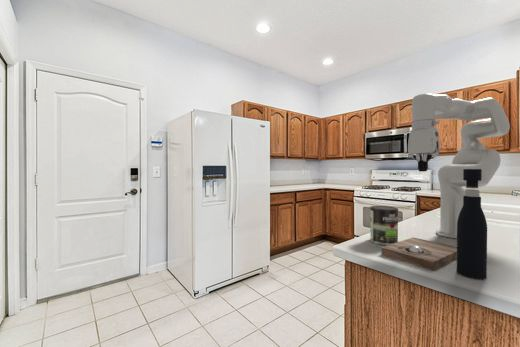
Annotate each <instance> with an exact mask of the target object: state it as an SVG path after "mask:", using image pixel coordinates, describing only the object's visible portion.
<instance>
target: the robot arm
mask: <svg viewBox="0 0 520 347" xmlns="http://www.w3.org/2000/svg"><path fill="white" fill-rule="evenodd" d="M410 110H411V130H410V131H409V134H408V141H407V142H408V143H407V152H408V158H413V159H414V160H416V162H417V169H418V172H422V173H423V172H427V171H428V169H429V161H430V160H431V159H432V158H435V157H438V156H440V153H439V152H441V150H440V149H441V148H440V147H441V144H440V143H441V142H440V136H439V130H438V128H437V127H436V126H437V125H439V123H440V122H439V120H458V121H463V122H464V121H466V123H465V124H463V125H462V126H461V127H460V128H461V129H460V138H461V143H462V145H461V147H460V149H459V150H458V152H456V154H455V155H454V156H453V159H452V162H451V164H446V165H443V166H441V167H440V168H439V169H438V171H437V177H438V182H439V190H440V191H439V192H440V204H439V205H440V207H439V208H440V209H439V210H440V211H439V212H440V213H439V214H440V215H439V216H440V220H439V222H440V223H439V224H440V225H439V229H436V230H435V234H437V236H438V235H439V236H441V237H446V238H451V239H456V240H457V221H458V217H459V213H460V211H461V209H462V207H463V196H465V194H464V193H465V192H464V191H465V189H464V188H466V181H465V180H463V169H482V180H481V181H478V188H484V187H486V186H487V185H488V184H489V183H490V182H491V180H492V178H494V176H495V174H496V173H497V170H498V169H499V167H500V166H501V154H500V152H498V151H497V150H496V149H492V148H487V147H486V146H485V145H484V143H483V142H481V140H479V139H486V138H496V137H504V136H505V135H507V134H508V133H509V131H510V130H511V129H510V128H511V126H510V125H511V124H510V121H509V118H508V117H507V115H506V113H505V111H504V109H503V107H502V105H501V103H499V101H498V100H497V99H496V98H494V97H487V98H486V97H485V98H483V99H477V100H473V101H472V100H471V101H470V100H465V99H460V98H454V99H453V98H452V97H451V96H450V95H448V94H433V93H419V94H417V95H415V96H414V97H413V98H412V99H411V108H410ZM467 121H469V122H467ZM463 187H464V188H463Z"/></svg>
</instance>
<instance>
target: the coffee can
mask: <svg viewBox="0 0 520 347" xmlns="http://www.w3.org/2000/svg"><path fill="white" fill-rule="evenodd" d="M369 208H370V236H369V237H370V242H372V243H374V244H377V245H382V246H387V245H390V244H394V243H397V242H399V240H398V239H399V238H398V236H399V230H398V229H399V207H395V206H386V205H373V206H370V207H369Z"/></svg>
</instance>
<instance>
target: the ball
mask: <svg viewBox="0 0 520 347" xmlns="http://www.w3.org/2000/svg"><path fill="white" fill-rule="evenodd" d="M409 252H411V253H418V254H421V253H423V251H422V249H421V248H420V247H418V246H411V247H410V248H409Z"/></svg>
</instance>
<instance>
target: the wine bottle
mask: <svg viewBox="0 0 520 347" xmlns="http://www.w3.org/2000/svg"><path fill="white" fill-rule="evenodd" d="M463 180H465V181H466V187H465V188H467V189H464V192H465V193H464V194H465V196H463V207H462V209H461V211H460V213H459V217H458V221H457V239H456V247H457V259H456V273H457V274H458V275H461V276H462V277H466V278H469V279H473V280H486V279H487V277H488V275H487V274H488V272H487V271H488V270H487V269H488V268H487V266H488V224H487V218H486V216H485V213H484V211H483V209H482V197H481V196H480V195H481V194H480V193H481V191H480V189H479V187H478V181H481V180H482V169H463Z"/></svg>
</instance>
